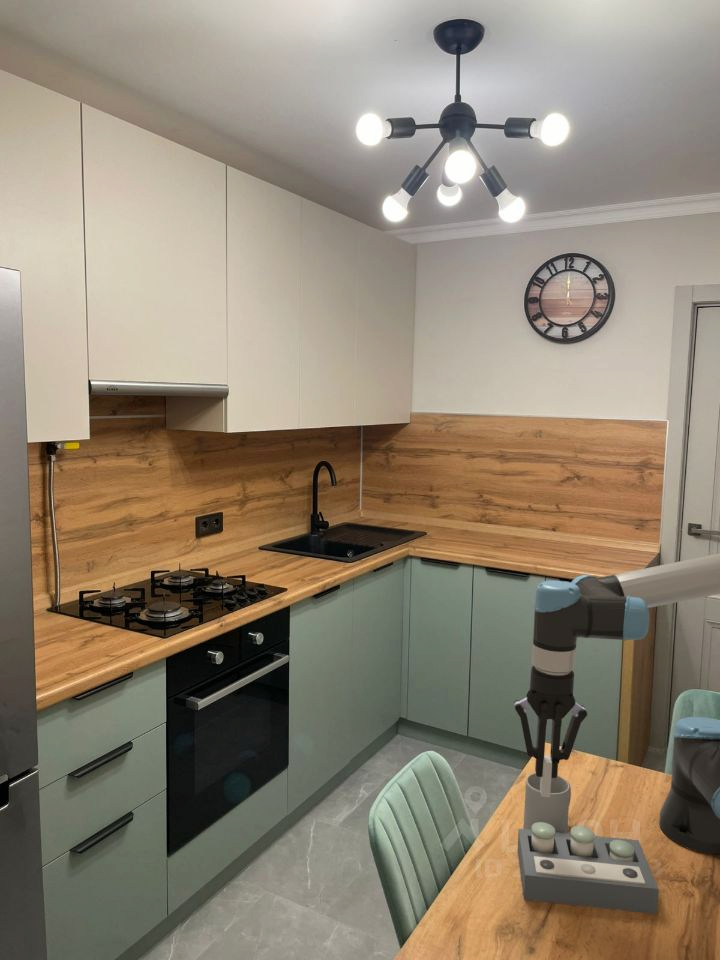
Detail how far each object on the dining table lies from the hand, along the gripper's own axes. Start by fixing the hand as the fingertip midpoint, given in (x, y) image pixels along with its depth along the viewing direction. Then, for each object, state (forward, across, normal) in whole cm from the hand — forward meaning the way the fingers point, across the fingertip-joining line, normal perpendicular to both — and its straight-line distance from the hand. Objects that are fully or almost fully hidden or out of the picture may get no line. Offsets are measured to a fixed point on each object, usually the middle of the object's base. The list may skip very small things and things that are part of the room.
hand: (544, 793), depth 132 cm
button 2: (+13, -14, 0) cm, 19 cm away
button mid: (+11, -7, 0) cm, 13 cm away
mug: (+15, -3, -12) cm, 19 cm away
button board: (+14, -7, +2) cm, 16 cm away
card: (+10, -7, +6) cm, 14 cm away
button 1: (+11, 0, 0) cm, 11 cm away
